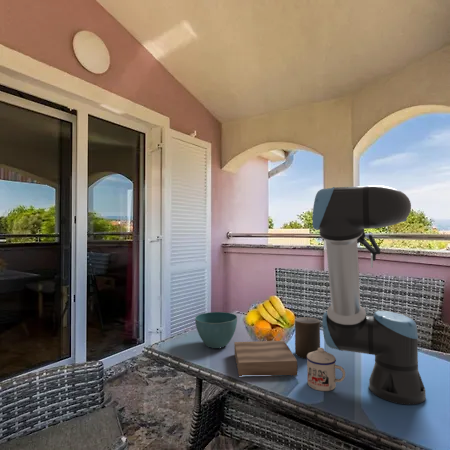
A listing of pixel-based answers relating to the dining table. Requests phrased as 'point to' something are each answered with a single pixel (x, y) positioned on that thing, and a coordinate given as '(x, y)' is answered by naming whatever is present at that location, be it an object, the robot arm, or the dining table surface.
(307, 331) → the pillar candle
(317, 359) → the teacup with lid
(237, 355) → the block
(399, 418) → the dining table surface
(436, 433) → the dining table surface
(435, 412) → the dining table surface
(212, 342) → the plant pot
